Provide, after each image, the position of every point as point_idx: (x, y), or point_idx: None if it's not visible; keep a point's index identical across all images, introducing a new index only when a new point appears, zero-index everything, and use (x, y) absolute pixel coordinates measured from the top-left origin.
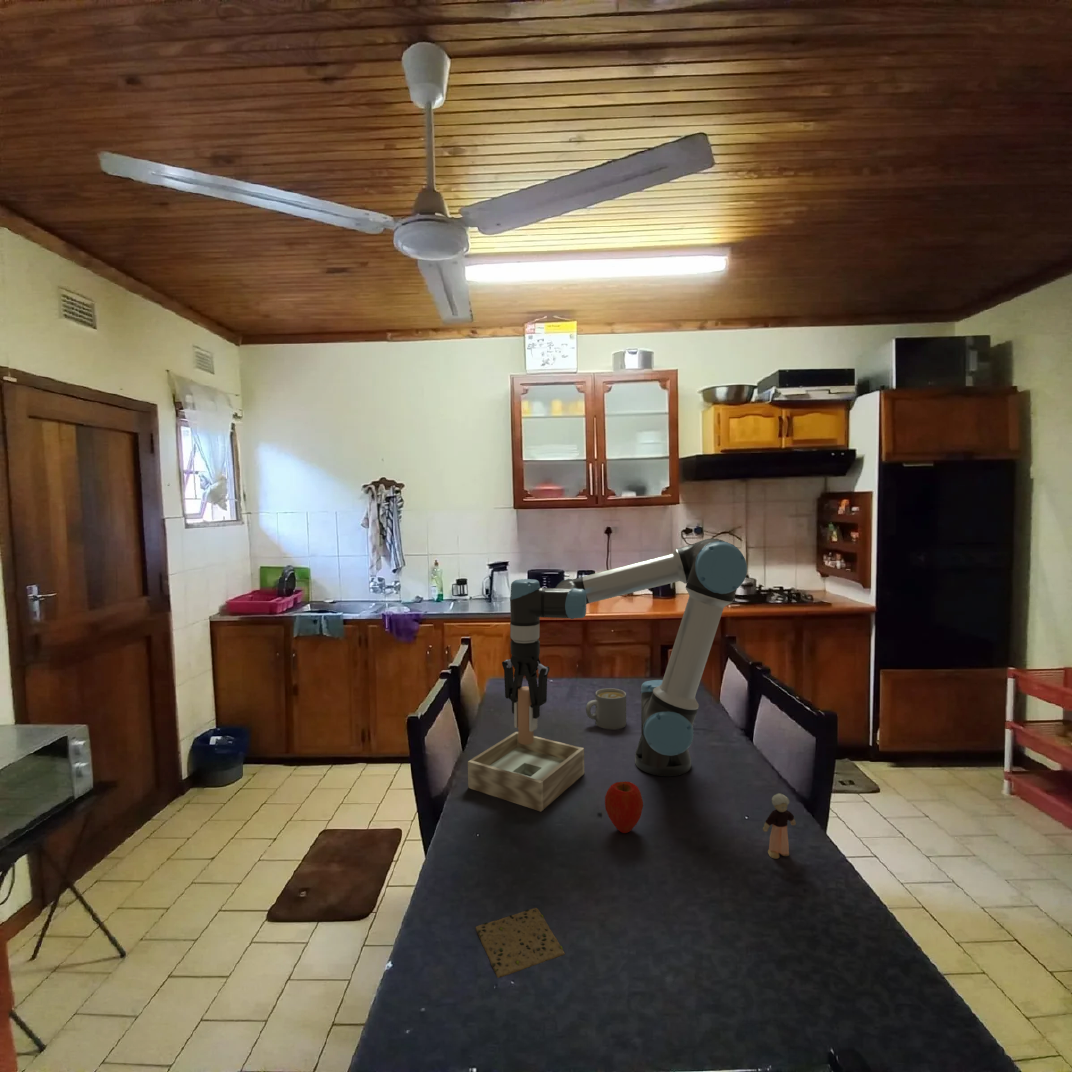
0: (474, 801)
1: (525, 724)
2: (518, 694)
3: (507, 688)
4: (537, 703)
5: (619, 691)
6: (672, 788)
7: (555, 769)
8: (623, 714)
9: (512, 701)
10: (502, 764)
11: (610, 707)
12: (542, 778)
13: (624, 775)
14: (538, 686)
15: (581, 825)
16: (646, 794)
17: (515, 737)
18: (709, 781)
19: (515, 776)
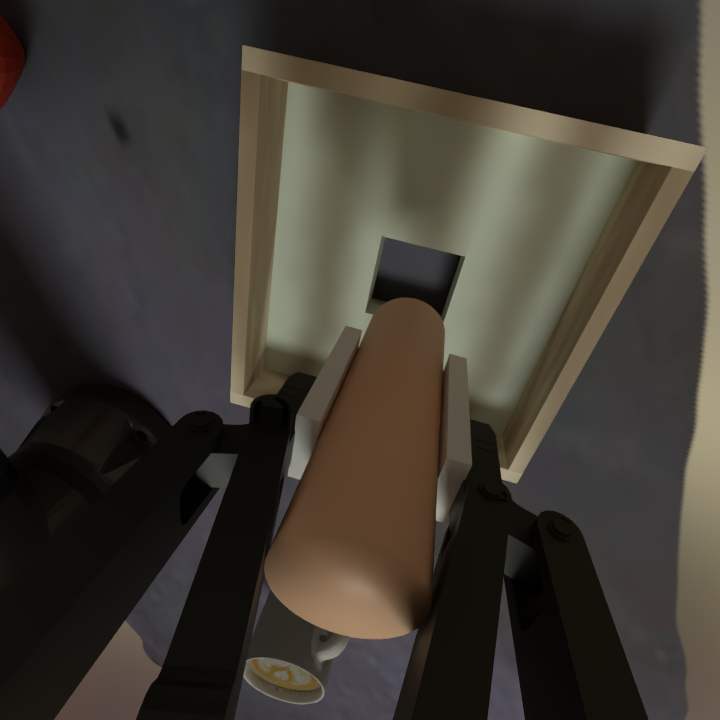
0: (586, 31)
1: (377, 346)
2: (414, 518)
3: (573, 609)
4: (237, 439)
5: (271, 690)
6: (46, 335)
7: (243, 209)
8: (262, 612)
9: (492, 482)
10: (523, 300)
11: (277, 629)
12: (256, 100)
13: (169, 371)
14: (94, 572)
15: (131, 26)
16: (77, 290)
17: (511, 452)
18: (4, 384)
19: (387, 77)
